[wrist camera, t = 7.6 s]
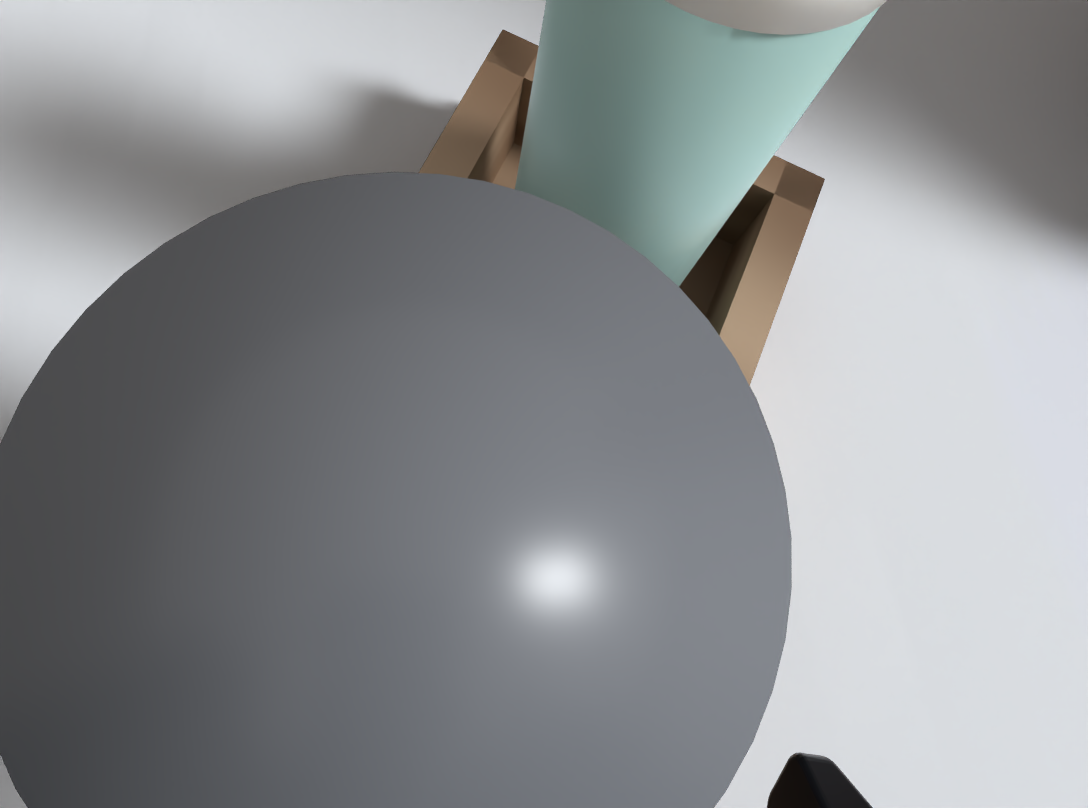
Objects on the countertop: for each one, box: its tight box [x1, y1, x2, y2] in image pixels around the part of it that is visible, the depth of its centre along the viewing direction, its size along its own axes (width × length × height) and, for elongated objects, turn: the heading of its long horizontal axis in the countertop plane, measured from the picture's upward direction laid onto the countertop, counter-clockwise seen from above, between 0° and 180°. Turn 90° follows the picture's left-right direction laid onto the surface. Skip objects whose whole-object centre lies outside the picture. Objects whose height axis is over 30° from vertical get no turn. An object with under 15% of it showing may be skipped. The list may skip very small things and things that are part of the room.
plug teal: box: [515, 0, 887, 286], centre depth 12 cm, size 4×4×13 cm
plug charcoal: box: [0, 172, 791, 808], centre depth 10 cm, size 4×4×13 cm
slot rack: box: [419, 30, 825, 386], centre depth 17 cm, size 17×9×4 cm, turn 156°
